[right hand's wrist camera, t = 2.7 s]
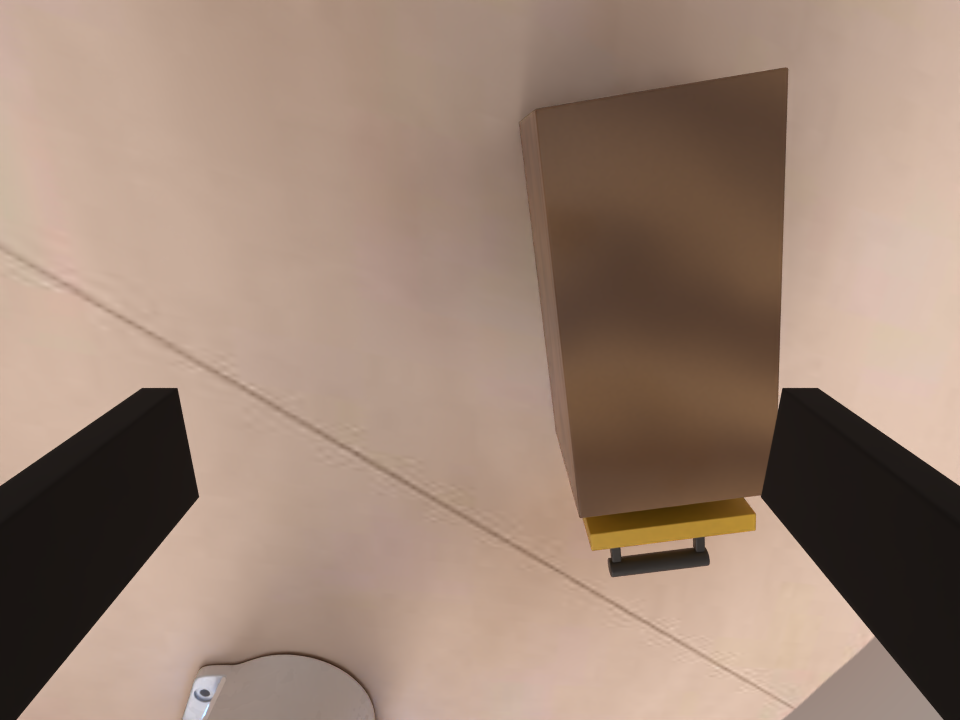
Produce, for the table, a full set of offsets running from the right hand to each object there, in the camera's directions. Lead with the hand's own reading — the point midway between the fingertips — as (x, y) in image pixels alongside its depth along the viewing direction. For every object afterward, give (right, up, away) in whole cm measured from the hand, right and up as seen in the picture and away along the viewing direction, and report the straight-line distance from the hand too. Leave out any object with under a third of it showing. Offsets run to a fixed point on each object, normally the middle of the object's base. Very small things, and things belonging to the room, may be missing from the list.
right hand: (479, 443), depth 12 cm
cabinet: (+9, +7, +25) cm, 28 cm away
